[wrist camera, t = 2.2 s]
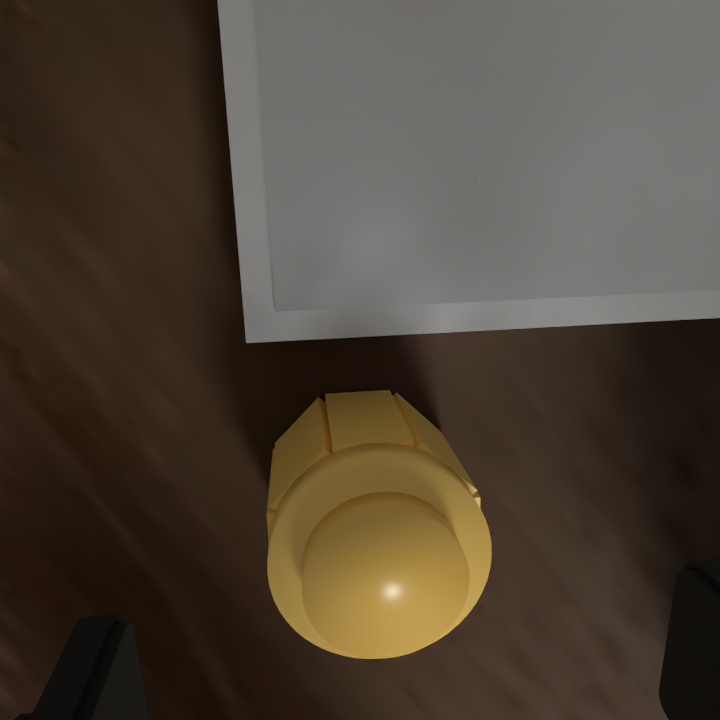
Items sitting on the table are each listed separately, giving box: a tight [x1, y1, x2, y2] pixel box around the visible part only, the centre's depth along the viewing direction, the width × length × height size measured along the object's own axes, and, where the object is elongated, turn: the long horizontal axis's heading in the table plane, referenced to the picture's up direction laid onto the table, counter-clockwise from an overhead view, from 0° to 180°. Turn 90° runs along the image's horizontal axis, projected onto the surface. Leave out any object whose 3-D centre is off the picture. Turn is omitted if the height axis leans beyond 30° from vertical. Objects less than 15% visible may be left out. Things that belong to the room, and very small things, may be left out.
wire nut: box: [267, 390, 492, 659], centre depth 16 cm, size 5×5×6 cm
